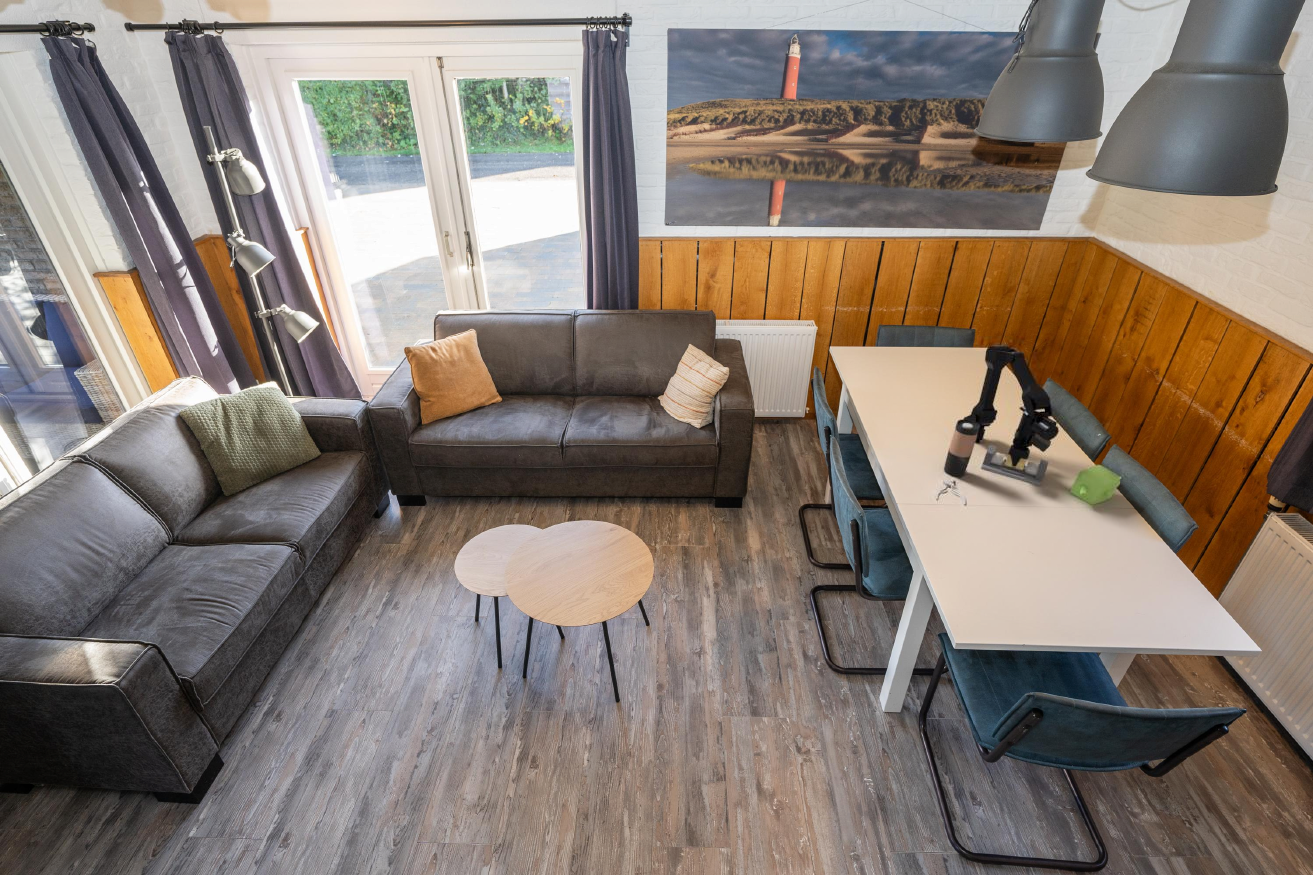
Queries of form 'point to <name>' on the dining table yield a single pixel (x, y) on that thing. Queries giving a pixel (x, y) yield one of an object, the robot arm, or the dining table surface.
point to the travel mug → (961, 447)
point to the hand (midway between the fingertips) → (1014, 462)
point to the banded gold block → (1018, 466)
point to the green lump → (1095, 484)
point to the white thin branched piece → (950, 484)
